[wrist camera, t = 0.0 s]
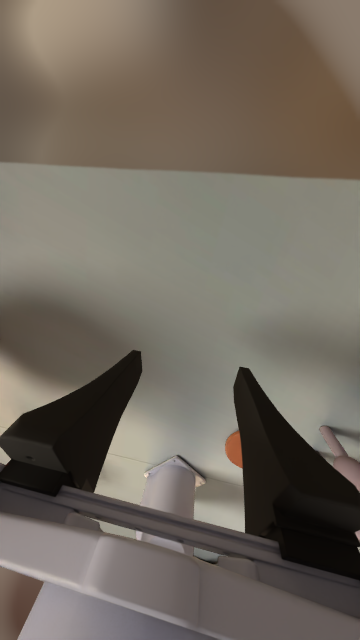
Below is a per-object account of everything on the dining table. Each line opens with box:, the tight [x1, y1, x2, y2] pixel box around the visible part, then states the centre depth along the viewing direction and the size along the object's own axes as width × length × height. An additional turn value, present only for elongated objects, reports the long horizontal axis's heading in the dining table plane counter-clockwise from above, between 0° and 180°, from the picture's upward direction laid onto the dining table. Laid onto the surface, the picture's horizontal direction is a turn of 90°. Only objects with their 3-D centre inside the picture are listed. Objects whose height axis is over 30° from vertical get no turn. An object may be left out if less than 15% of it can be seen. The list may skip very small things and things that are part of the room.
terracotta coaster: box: [225, 431, 243, 468], centre depth 28 cm, size 9×9×1 cm
